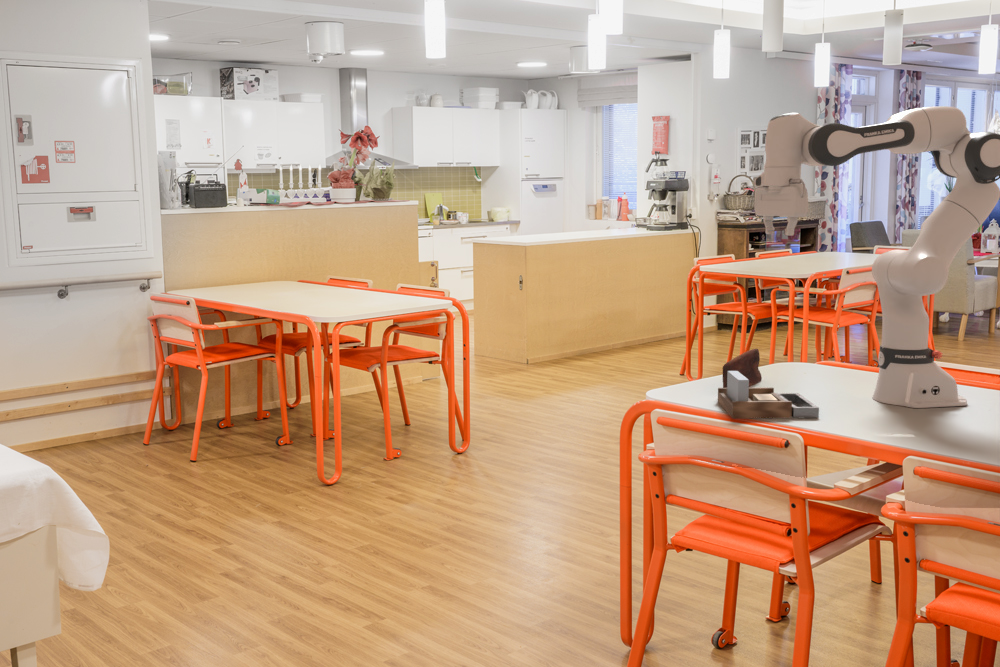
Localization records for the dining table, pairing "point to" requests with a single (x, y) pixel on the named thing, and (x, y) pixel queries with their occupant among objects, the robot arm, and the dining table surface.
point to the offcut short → (764, 397)
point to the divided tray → (755, 405)
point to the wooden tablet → (744, 367)
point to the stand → (800, 406)
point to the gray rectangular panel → (737, 386)
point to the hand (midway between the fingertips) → (779, 234)
